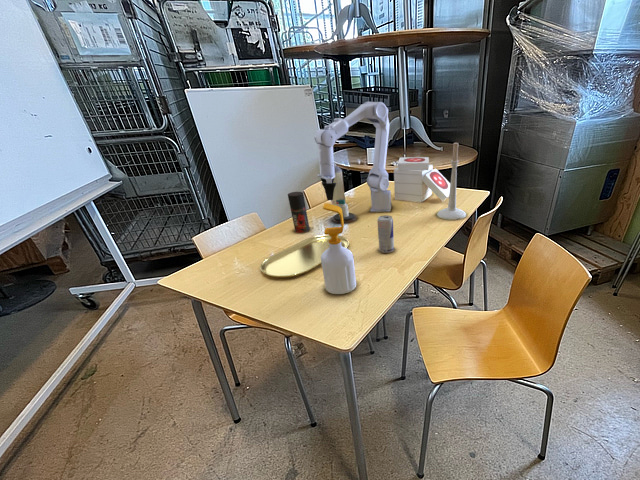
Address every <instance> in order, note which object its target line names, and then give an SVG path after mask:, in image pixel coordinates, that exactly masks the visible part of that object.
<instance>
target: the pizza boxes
mask: <svg viewBox="0 0 640 480" xmlns="http://www.w3.org/2000/svg"><path fill="white" fill-rule="evenodd" d="M433 167H434V165H433V164H430V157H428V156H414V157H413V156H411V157H409V156H408V157H407V156H405V157H403V156H402V157H399V159H398V162H397V167H395V168H393V182H394V183H393V185H394V187H393V189H394V190H393V191H394V200H395V201H396V200H398V201H405V202H412V203H413V202H414V203H423V202H424V201H426V200H427V199H428V198H429V197H431V196H432V195H433V194H434V195H436V197H437V198H438V199H439V200H440V201H441V202H445V200H447V199H449V193H450V184H451V182H450V181H449V180H448V179H447V178H446V177H445V176H444V175H443V174H442V173H441V172H440V171H439V170H438V169H437V168H436V167H435V168H433Z"/></svg>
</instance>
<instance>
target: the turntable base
mask: <svg viewBox="0 0 640 480" xmlns="http://www.w3.org/2000/svg"><path fill="white" fill-rule="evenodd" d="M353 214H354V218H353V219H350V220H344V225H347V224H351V223H354V222H356V221H357V220H358V216H357V215H356V214H355V213H353ZM331 222H332V223H335V224H339V225H341V221H340V220H336V219H334V215H332V217H331Z"/></svg>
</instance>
